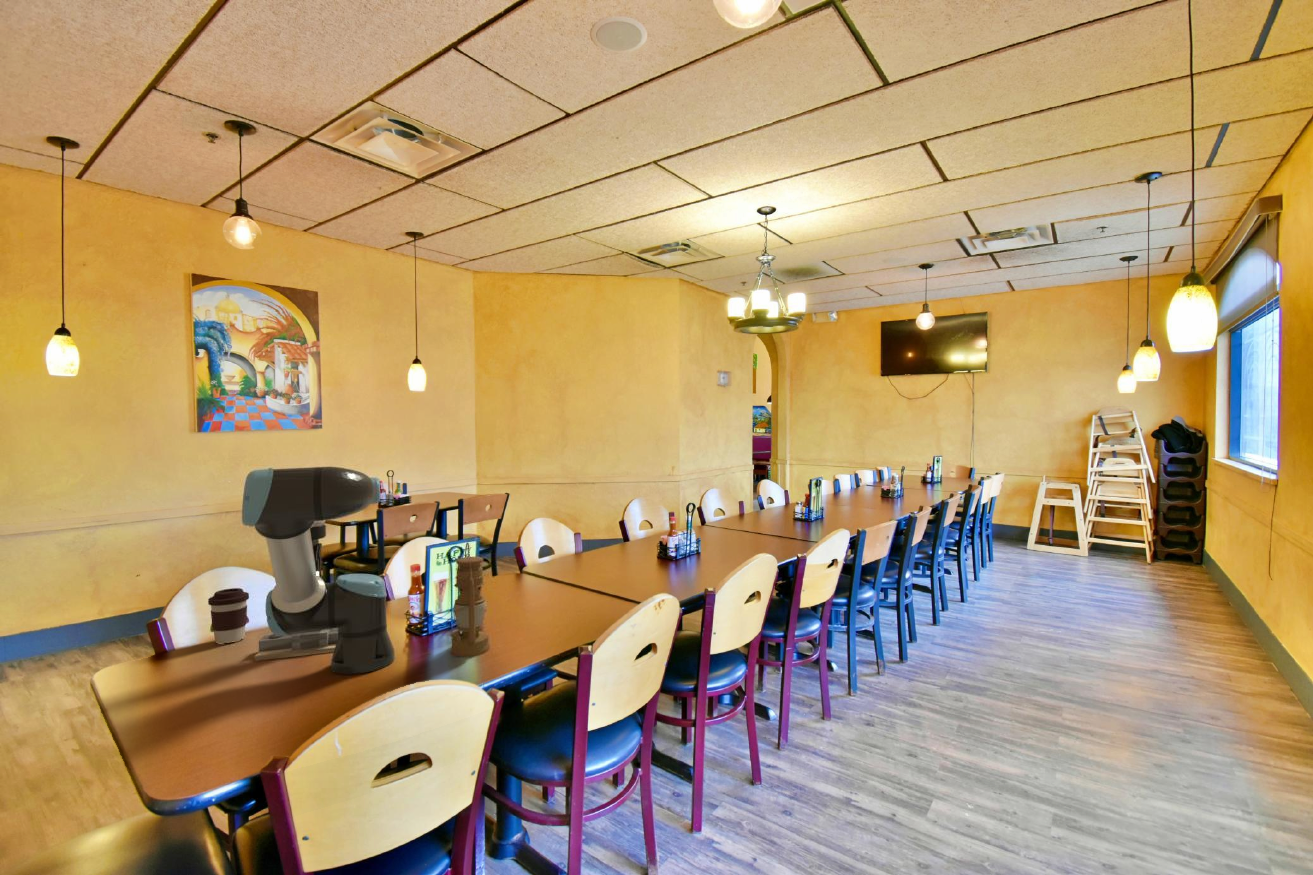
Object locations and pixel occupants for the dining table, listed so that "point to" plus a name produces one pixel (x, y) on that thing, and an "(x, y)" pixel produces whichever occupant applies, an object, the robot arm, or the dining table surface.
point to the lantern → (469, 609)
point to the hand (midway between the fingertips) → (313, 606)
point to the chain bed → (293, 653)
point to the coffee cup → (229, 614)
